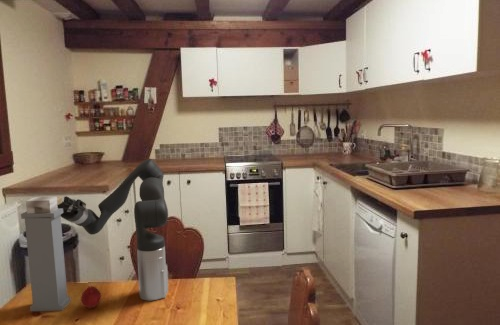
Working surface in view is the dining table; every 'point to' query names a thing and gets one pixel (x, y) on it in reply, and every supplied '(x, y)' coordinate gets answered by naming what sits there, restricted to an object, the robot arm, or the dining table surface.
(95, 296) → the onion
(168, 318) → the dining table surface
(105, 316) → the dining table surface
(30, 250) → the stand
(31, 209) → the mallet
